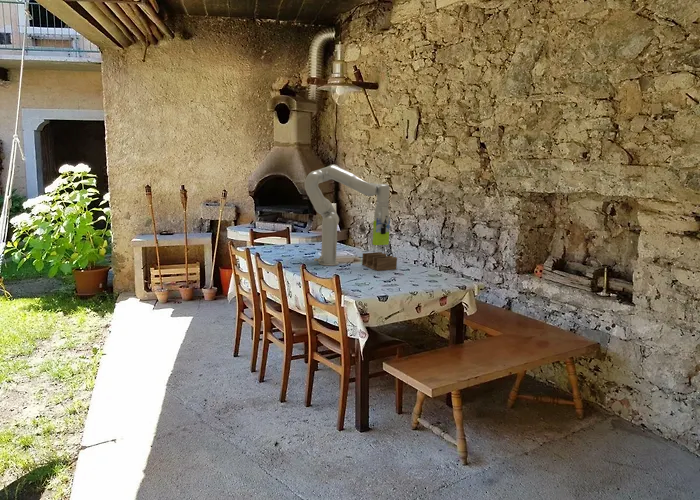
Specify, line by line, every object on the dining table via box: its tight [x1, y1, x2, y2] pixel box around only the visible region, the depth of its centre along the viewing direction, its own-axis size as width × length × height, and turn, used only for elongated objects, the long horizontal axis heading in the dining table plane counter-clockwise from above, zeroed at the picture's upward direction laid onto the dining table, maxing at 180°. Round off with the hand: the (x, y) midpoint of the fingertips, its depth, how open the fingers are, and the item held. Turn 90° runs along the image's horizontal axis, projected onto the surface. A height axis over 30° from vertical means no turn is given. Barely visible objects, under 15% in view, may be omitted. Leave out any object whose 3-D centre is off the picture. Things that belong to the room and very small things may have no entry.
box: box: [372, 217, 391, 246], centre depth 349 cm, size 10×4×17 cm, turn 119°
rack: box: [361, 251, 398, 272], centre depth 352 cm, size 18×14×8 cm
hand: (381, 233), depth 349 cm, fingers closed on box, 4 cm apart
